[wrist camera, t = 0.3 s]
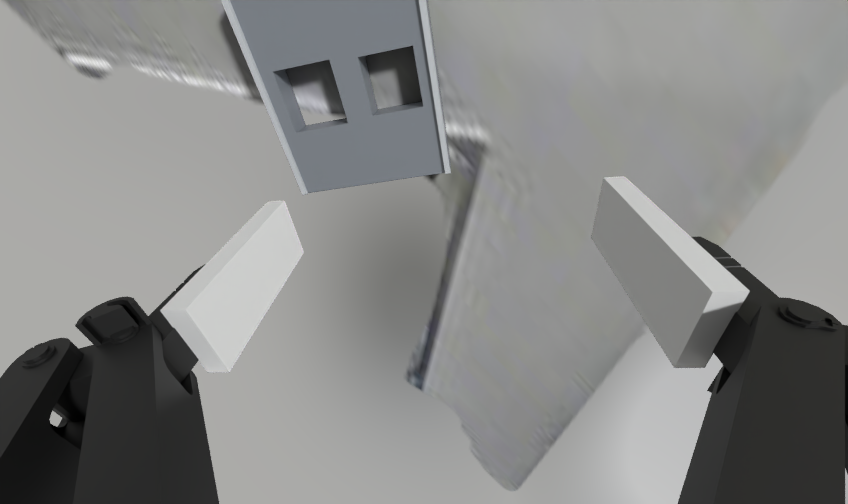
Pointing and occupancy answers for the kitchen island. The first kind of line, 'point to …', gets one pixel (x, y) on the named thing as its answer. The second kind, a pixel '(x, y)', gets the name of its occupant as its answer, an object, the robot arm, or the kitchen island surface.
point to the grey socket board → (345, 87)
